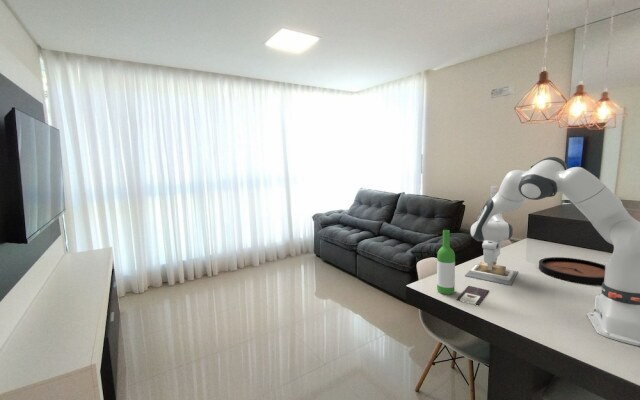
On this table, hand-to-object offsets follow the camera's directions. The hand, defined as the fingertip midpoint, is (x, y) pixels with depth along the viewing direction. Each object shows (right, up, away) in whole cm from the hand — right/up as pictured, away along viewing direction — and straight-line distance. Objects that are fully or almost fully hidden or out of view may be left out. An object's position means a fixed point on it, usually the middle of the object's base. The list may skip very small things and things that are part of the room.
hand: (492, 266), depth 160 cm
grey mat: (0, -4, 0) cm, 4 cm away
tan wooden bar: (0, -4, 0) cm, 4 cm away
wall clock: (+43, -3, -3) cm, 43 cm away
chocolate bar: (-22, -9, -23) cm, 33 cm away
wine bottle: (-33, -8, -18) cm, 38 cm away
